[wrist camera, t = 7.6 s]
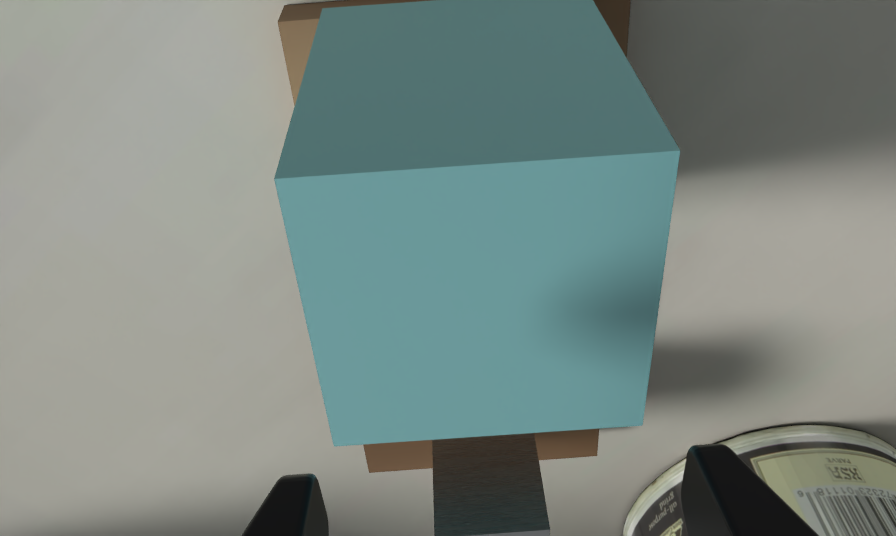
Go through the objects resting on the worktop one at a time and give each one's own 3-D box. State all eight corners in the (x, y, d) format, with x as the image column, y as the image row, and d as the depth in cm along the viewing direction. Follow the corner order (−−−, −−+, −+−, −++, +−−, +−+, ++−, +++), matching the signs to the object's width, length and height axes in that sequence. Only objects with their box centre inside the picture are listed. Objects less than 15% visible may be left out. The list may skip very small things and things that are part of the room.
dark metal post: (524, 435, 23) (549, 592, 19) (437, 441, 23) (443, 599, 19) (524, 372, 21) (549, 530, 17) (430, 379, 21) (434, 537, 17)
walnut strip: (590, 430, 24) (597, 455, 24) (370, 447, 24) (369, 472, 24) (620, -22, 16) (631, -7, 15) (284, 5, 16) (277, 22, 15)
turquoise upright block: (575, 212, 18) (642, 425, 13) (356, 227, 18) (334, 446, 13) (586, -11, 15) (679, 151, 10) (322, 8, 15) (274, 178, 10)
